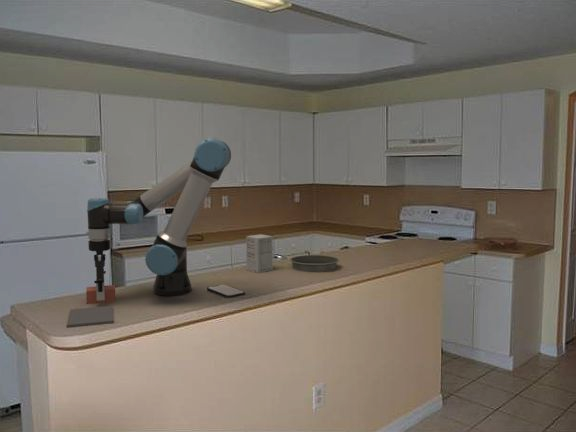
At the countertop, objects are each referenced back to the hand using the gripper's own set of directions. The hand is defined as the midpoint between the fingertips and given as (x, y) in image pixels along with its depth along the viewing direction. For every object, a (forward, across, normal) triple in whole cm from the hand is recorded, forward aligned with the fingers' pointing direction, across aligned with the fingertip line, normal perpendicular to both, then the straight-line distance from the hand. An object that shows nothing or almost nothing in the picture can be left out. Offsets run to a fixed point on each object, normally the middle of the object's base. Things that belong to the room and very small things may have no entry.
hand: (100, 295), depth 190 cm
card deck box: (+2, 0, 0) cm, 2 cm away
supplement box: (+2, -33, +72) cm, 79 cm away
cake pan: (+2, -31, +100) cm, 105 cm away
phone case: (+2, +3, +47) cm, 47 cm away
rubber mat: (+2, +21, -3) cm, 21 cm away
